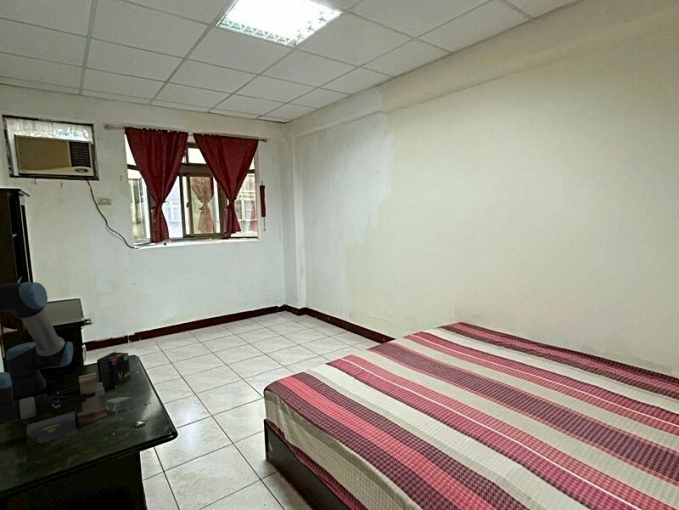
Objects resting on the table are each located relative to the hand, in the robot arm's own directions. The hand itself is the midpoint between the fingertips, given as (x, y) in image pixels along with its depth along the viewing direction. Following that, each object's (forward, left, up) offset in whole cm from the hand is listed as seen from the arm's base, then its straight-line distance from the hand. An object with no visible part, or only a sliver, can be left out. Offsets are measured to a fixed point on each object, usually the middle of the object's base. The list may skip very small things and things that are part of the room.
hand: (103, 388), depth 163 cm
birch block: (0, -5, -7) cm, 9 cm away
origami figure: (+1, +6, -12) cm, 13 cm away
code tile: (0, -19, -11) cm, 22 cm away
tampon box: (-30, +7, -12) cm, 33 cm away
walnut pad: (0, -5, -11) cm, 12 cm away
